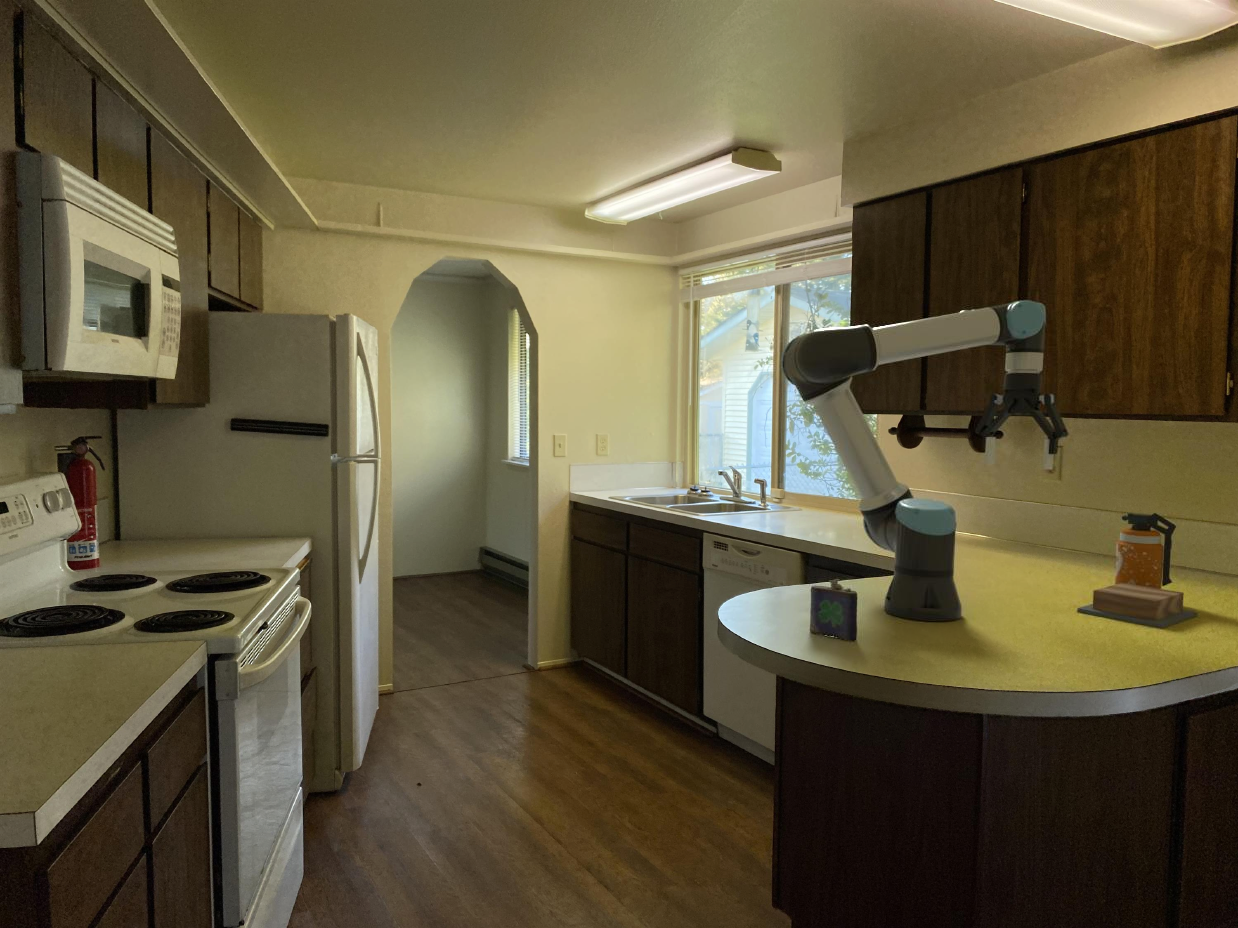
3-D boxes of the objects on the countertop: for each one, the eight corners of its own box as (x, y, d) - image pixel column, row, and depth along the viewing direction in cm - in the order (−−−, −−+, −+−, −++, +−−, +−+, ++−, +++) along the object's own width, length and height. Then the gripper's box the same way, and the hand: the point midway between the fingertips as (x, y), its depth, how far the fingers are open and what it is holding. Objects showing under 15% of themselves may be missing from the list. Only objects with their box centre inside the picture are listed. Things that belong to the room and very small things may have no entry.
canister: (1113, 593, 190) (1118, 509, 189) (1170, 599, 185) (1174, 512, 183) (1114, 600, 183) (1118, 512, 181) (1173, 606, 177) (1178, 516, 176)
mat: (1162, 628, 158) (1162, 624, 158) (1077, 611, 171) (1077, 608, 171) (1197, 615, 169) (1197, 611, 169) (1114, 601, 182) (1114, 597, 182)
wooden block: (1155, 620, 161) (1156, 601, 161) (1092, 608, 171) (1093, 590, 170) (1182, 611, 169) (1183, 592, 169) (1121, 600, 179) (1122, 582, 179)
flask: (807, 632, 152) (809, 576, 152) (814, 629, 154) (816, 574, 154) (852, 642, 146) (854, 584, 145) (860, 639, 148) (862, 581, 147)
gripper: (1089, 372, 172) (1083, 471, 174) (981, 375, 193) (976, 463, 194) (1071, 370, 168) (1065, 471, 169) (962, 373, 189) (957, 463, 190)
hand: (1017, 467), depth 182 cm, fingers open, 13 cm apart
